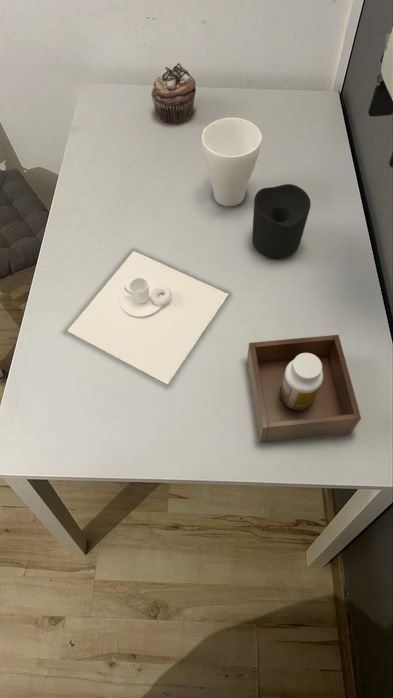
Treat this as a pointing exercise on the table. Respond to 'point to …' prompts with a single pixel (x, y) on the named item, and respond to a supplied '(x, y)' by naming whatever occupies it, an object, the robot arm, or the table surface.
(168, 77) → the cupcake
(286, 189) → the pen holder
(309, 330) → the table surface
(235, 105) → the table surface
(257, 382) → the holder
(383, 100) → the robot arm
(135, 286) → the teacup and saucer
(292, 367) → the supplement bottle
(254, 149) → the cup
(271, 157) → the table surface
